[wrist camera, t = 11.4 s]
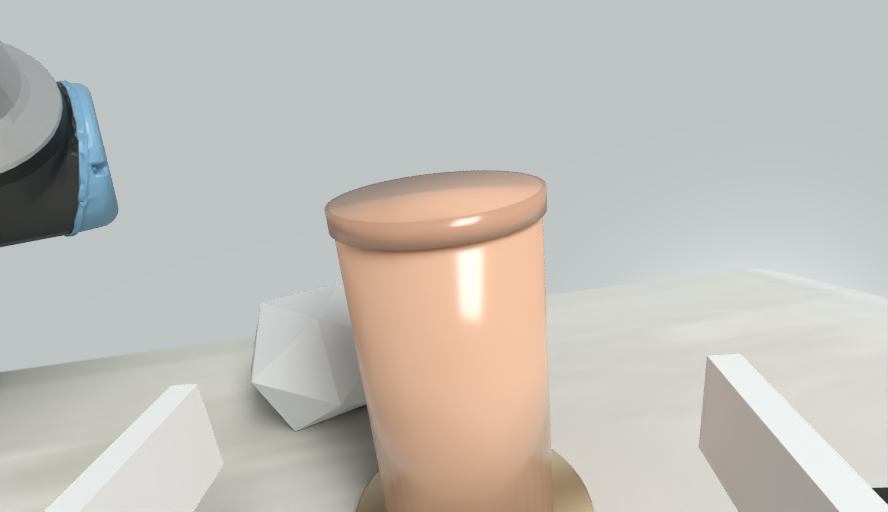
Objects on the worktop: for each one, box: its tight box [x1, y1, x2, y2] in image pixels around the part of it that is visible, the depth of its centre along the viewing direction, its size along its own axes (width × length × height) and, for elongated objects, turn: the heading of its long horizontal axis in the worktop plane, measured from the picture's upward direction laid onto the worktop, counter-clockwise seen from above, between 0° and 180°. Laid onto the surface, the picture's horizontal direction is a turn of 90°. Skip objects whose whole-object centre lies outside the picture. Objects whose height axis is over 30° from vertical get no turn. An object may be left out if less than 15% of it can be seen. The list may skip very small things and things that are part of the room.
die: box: [251, 282, 367, 431], centre depth 30 cm, size 8×9×10 cm
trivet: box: [357, 449, 594, 512], centre depth 22 cm, size 11×11×1 cm
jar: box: [325, 171, 553, 512], centre depth 20 cm, size 8×8×15 cm
